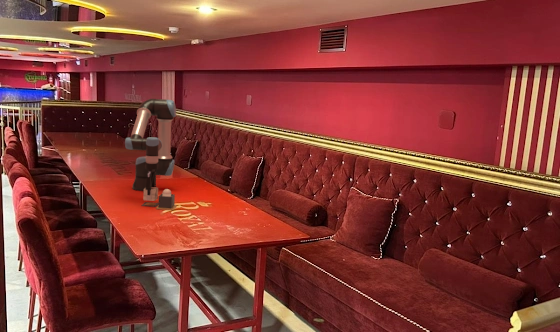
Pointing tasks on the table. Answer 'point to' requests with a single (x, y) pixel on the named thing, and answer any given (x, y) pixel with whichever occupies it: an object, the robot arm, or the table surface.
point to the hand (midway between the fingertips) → (150, 198)
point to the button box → (166, 202)
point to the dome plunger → (167, 193)
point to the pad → (150, 204)
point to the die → (154, 194)
